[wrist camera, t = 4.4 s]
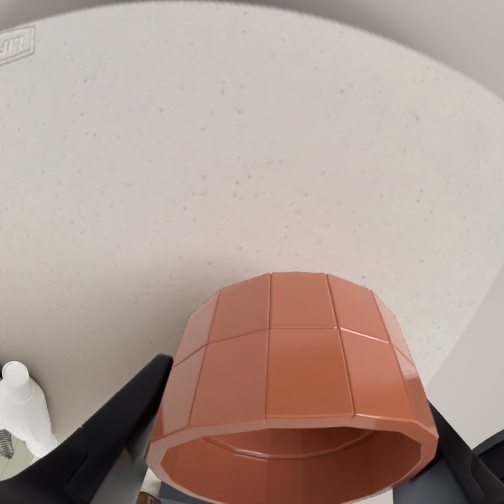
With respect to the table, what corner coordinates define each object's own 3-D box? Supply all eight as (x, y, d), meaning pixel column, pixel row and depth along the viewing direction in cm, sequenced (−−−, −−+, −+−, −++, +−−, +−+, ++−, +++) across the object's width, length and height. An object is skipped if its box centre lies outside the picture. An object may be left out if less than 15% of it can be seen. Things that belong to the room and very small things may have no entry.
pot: (426, 346, 9) (467, 455, 5) (283, 424, 12) (281, 519, 8) (299, 208, 7) (325, 355, 3) (146, 344, 10) (102, 458, 6)
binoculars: (-7, 393, 24) (-23, 420, 20) (-39, 305, 17) (-69, 339, 13) (63, 436, 26) (50, 468, 22) (52, 368, 18) (25, 415, 14)
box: (25, 427, 28) (-8, 499, 16) (41, 443, 30) (13, 511, 19) (2, 416, 28) (-30, 481, 17) (17, 432, 30) (-11, 495, 19)
